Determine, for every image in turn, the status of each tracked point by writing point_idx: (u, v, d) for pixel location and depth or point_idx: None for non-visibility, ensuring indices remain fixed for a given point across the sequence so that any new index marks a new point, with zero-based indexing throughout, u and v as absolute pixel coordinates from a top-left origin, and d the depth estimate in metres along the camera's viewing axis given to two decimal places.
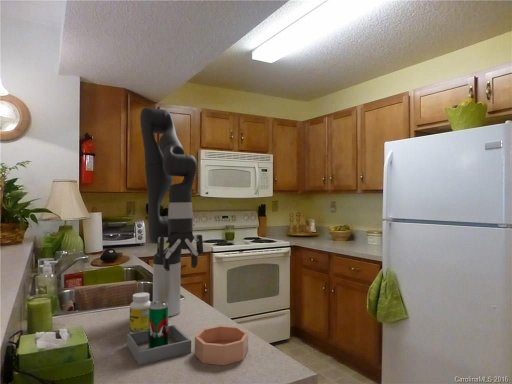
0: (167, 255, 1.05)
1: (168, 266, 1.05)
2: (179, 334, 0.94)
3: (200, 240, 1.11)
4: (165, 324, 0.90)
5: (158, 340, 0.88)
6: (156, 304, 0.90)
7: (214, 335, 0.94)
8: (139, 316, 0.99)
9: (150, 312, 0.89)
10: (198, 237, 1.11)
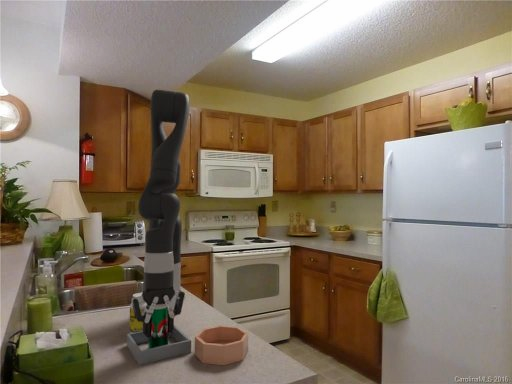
0: (147, 319, 0.88)
1: (148, 332, 0.88)
2: (179, 334, 0.94)
3: (181, 298, 0.93)
4: (165, 323, 0.90)
5: (158, 340, 0.88)
6: (156, 304, 0.90)
7: (214, 335, 0.94)
8: None
9: None
10: (180, 294, 0.93)
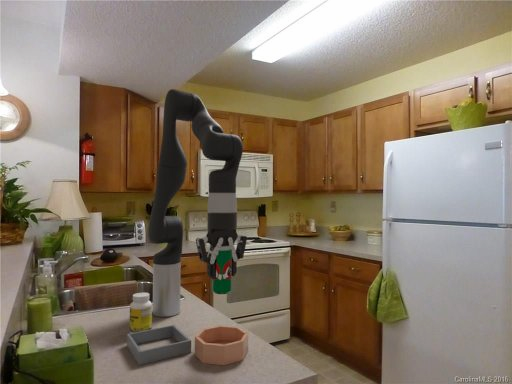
0: (212, 260, 0.86)
1: (213, 273, 0.87)
2: (179, 334, 0.94)
3: (243, 242, 0.91)
4: (230, 266, 0.88)
5: (224, 282, 0.87)
6: (221, 246, 0.88)
7: (214, 335, 0.94)
8: (139, 316, 0.99)
9: None
10: (242, 238, 0.91)
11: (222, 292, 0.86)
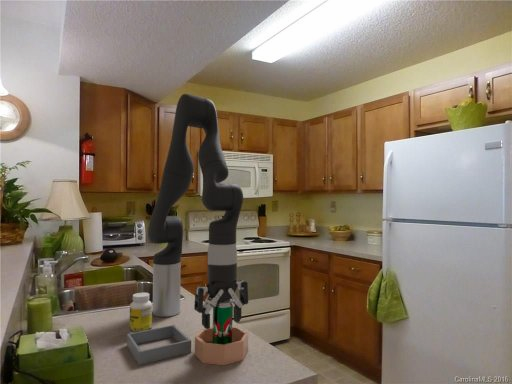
0: (207, 310, 0.85)
1: (208, 323, 0.85)
2: (179, 334, 0.94)
3: (245, 288, 0.91)
4: (230, 323, 0.88)
5: (224, 340, 0.86)
6: (221, 302, 0.88)
7: None
8: (139, 316, 0.99)
9: (215, 311, 0.87)
10: (243, 284, 0.91)
11: None
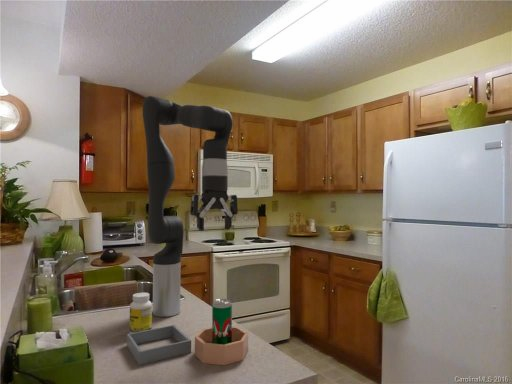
0: (201, 214, 0.99)
1: (202, 226, 0.99)
2: (179, 334, 0.94)
3: (235, 200, 1.05)
4: (229, 323, 0.87)
5: (224, 340, 0.86)
6: (220, 303, 0.88)
7: None
8: (139, 316, 0.99)
9: (215, 311, 0.87)
10: (233, 197, 1.05)
11: None
